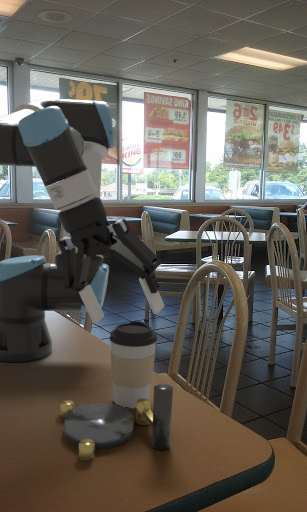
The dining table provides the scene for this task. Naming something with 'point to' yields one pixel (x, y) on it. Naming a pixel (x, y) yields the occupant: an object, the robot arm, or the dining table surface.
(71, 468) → the dining table surface
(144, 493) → the dining table surface
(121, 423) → the plate
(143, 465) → the dining table surface
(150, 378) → the coffee cup
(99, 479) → the dining table surface
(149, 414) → the lever
